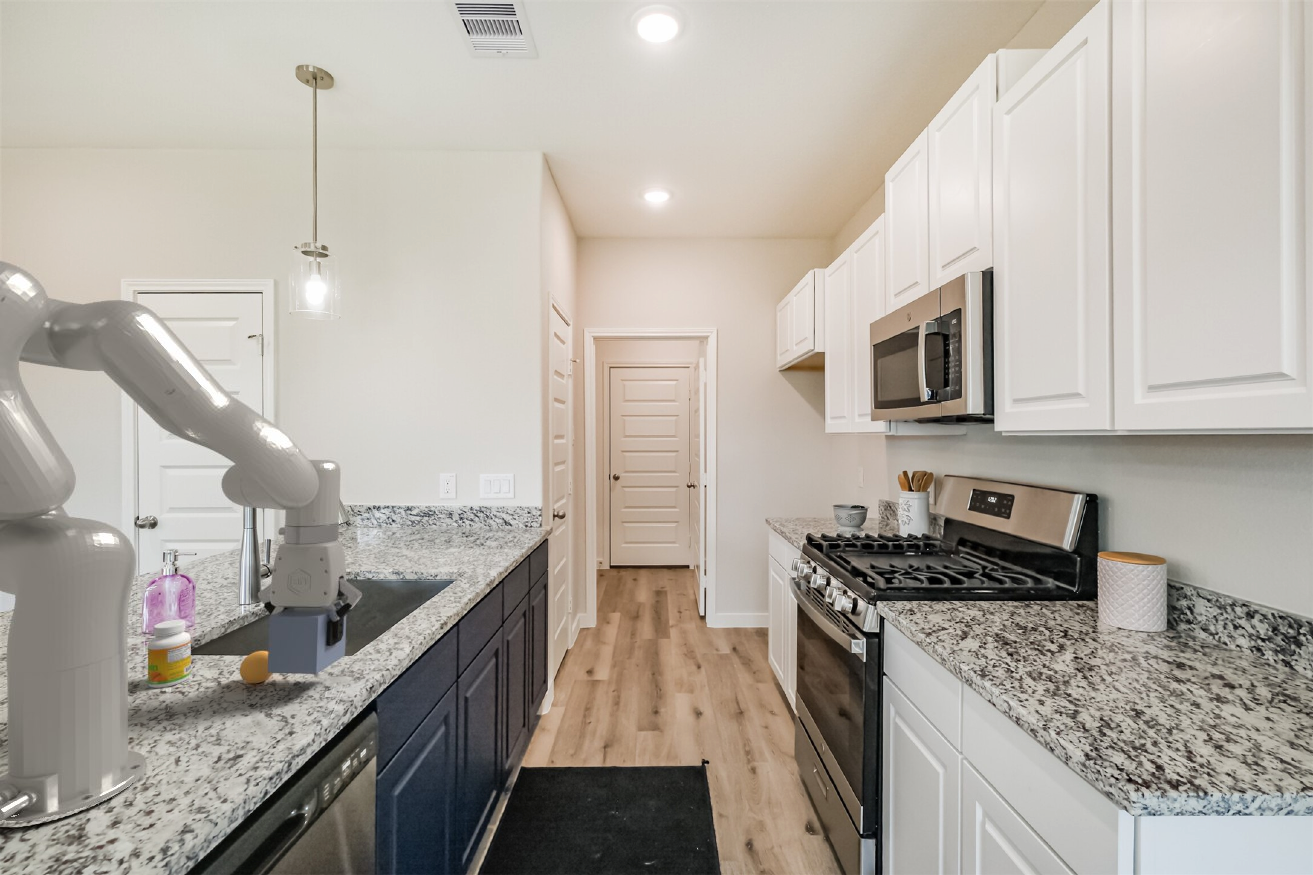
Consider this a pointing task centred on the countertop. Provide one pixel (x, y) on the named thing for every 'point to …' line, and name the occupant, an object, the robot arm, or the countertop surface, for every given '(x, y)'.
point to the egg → (255, 667)
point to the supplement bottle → (169, 654)
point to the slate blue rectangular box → (301, 642)
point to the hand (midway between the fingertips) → (308, 642)
